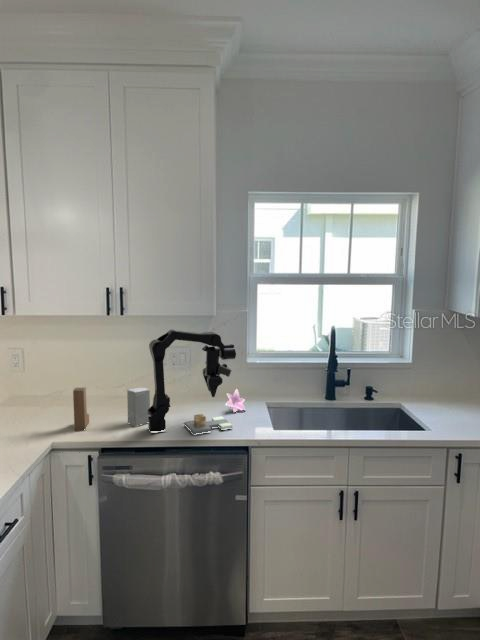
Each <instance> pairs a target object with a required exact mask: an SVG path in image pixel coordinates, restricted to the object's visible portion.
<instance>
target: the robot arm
mask: <svg viewBox="0 0 480 640" xmlns="http://www.w3.org/2000/svg"><path fill="white" fill-rule="evenodd" d="M175 341H185V342H195V343H202V344H203V345H204V346H203V347H202V349H201V350H202V351H203V352H205V353H206V355H205V357H206V358H205V359H206V360H205V363H204V364H205V367H204V368H203V369H202V377H203V379H204V382H205V384H206V387H207V389H208V392H210V395H211V397H212V398H215V397H216V394H217V390H218V387H219V386H221V385H222V384H223V378H222V377H221V375H223V376H225V377H228V378H229V377H230V375H231V372H232V369H231V368H229V367H228V364H226V363H222V364H220V359H221V360H222V361H224V360H225V361H226V360H227V361H229V360H235V359H236V357H237V352H236V348H235V345H234V344H231V343H230V344H224V343H223V342H222V338H221V335H220V334H219V333H217V332H214V331H205V332H191V331H184V330H183V331H182V330H176V329H170V330H168V331H167V332H166V333H164V334H162V335H161V336H159V337H157V338H156V339H152V340H151V341H150V342H149V344H148V349H149V353H150V355H151V359H152V363H153V381H154V395H153V399H152V405H150V408H149V409H148V413H149V415H150V416H149V417H148V420H149V423H148V428H149V430H150V431H161V430H164V429H165V430H166V427H167V425H166V419H165V417H166V415H167V413H168V412H169V410H170V408H171V403H170V402H171V397H170V396H169V395H168V394H166V388H165V385H166V384H165V371H164V370H165V369H164V360H165V357H166V351H167V349H168V348H169V347H170V346H171V345H172V344H173V343H174V342H175ZM149 430H148V431H149Z"/></svg>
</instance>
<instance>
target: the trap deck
mask: <svg viewBox="0 0 480 640" xmlns="http://www.w3.org/2000/svg"><path fill="white" fill-rule="evenodd" d="M185 425H186V426H187V427H188V428H189V429H190V430H191V432H192V433H193V434H196V433H202V432H208V431H211V432H212V430H211V428H212V427H218V426H219V427H220V428H221V429H225V428H232V429H233V424H232V423H230V422H229V420H227V419H226V418H225V417H223V416H222V415H221V416H215V417H211V420H208V421H207V420H206V426H200V427H197V426H196V425H195V424H194V419H193V420H188V421H186V420H185V421H184V426H185ZM191 432H190V433H191ZM192 433H191V434H192ZM193 434H192V435H193Z"/></svg>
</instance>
